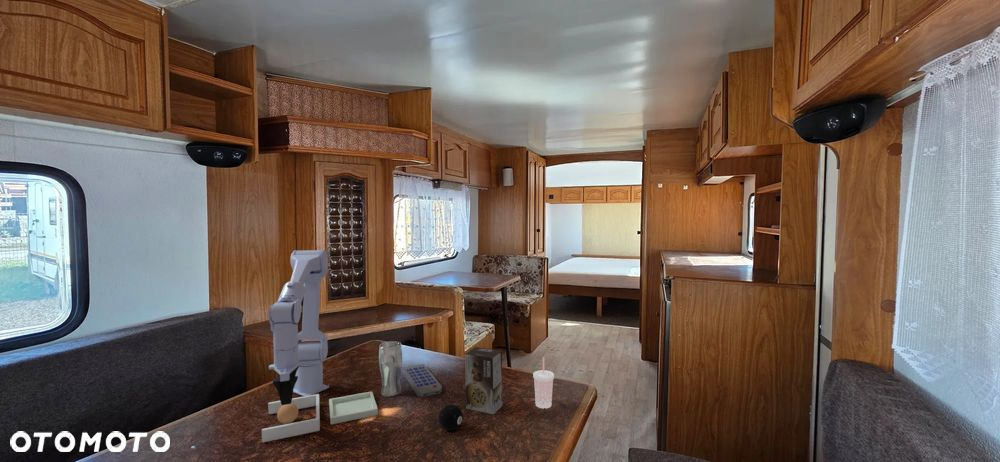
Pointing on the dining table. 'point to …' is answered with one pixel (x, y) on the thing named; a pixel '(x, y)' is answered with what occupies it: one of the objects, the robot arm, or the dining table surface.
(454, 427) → the billiard ball
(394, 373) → the beer glass
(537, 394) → the beverage cup
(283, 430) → the white bent bar
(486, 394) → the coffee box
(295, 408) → the ball
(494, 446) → the dining table surface
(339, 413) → the tray
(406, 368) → the remote control
